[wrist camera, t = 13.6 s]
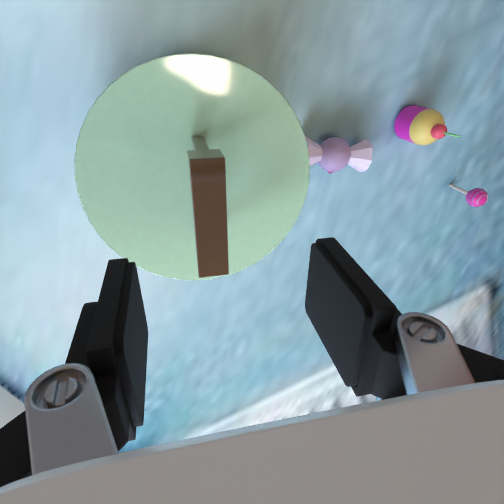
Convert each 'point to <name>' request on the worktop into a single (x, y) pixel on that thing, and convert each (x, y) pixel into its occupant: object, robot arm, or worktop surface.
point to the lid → (192, 166)
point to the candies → (406, 127)
